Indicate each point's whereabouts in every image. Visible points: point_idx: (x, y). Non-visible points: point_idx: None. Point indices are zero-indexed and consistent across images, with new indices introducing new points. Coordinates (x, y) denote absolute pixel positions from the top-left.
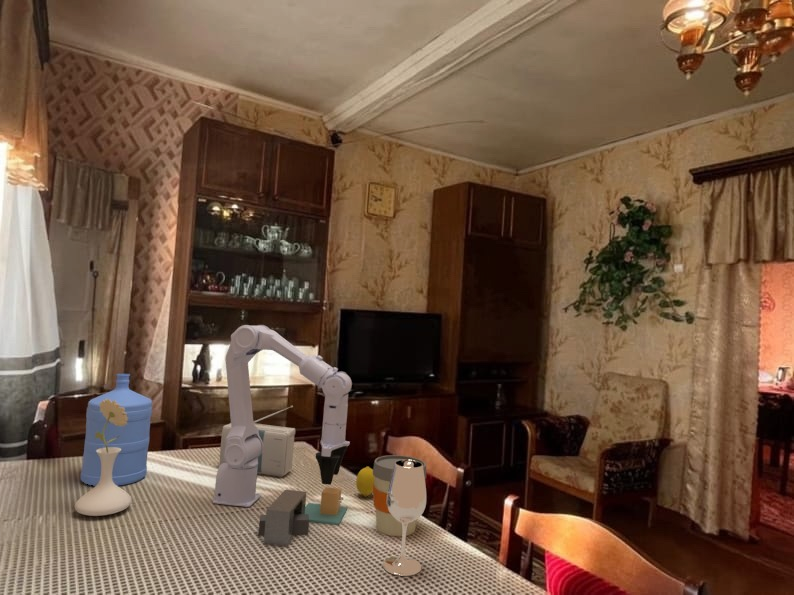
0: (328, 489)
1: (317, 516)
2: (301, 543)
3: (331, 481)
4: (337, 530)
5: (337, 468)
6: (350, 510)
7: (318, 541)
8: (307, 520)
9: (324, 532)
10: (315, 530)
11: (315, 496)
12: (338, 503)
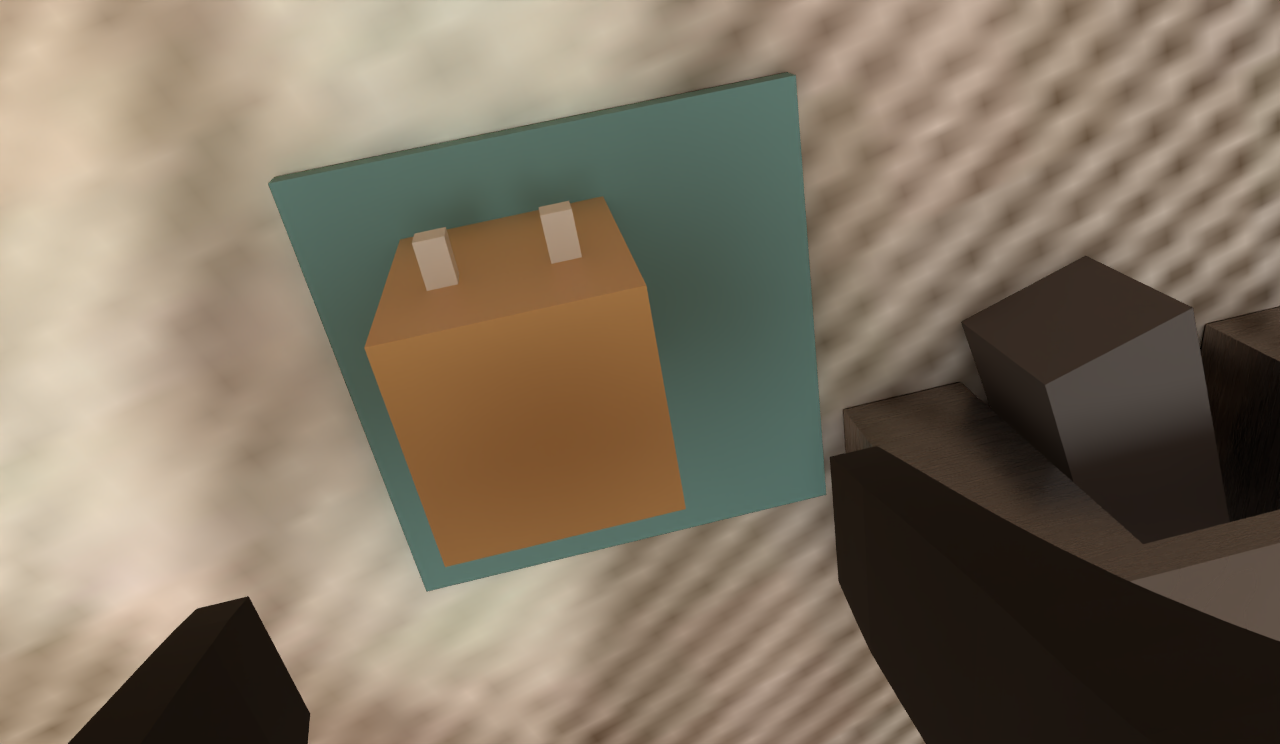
0: (518, 492)
1: (717, 361)
2: (1252, 226)
3: (908, 465)
4: (923, 28)
5: (205, 712)
6: (286, 122)
7: (1203, 104)
8: (1190, 319)
9: (1002, 140)
10: (977, 241)
11: (163, 634)
12: (531, 249)
